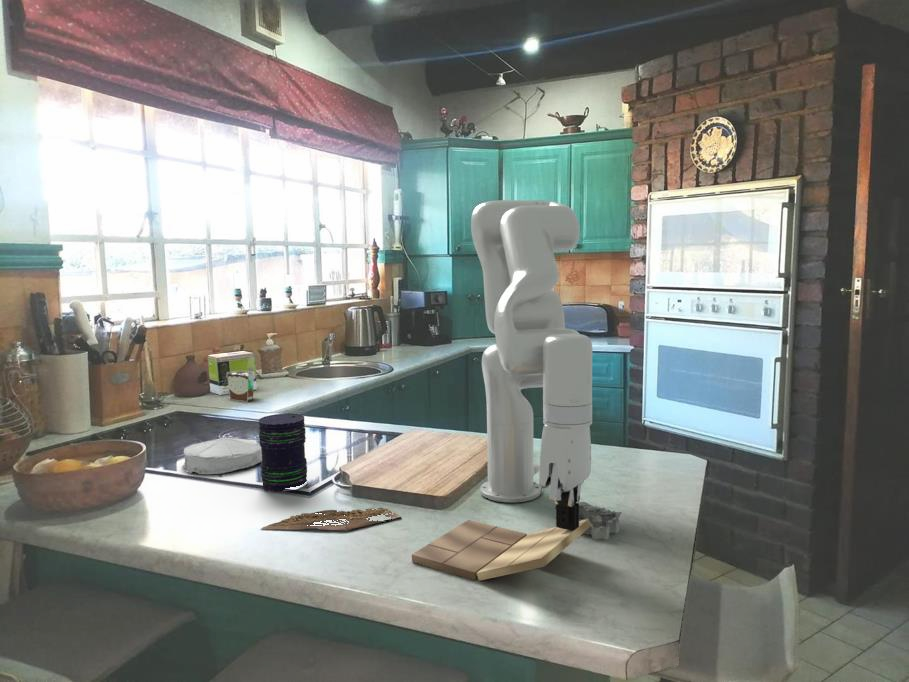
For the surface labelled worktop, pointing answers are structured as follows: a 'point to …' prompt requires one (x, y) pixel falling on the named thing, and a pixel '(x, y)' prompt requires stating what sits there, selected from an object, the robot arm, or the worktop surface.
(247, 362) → the tea box
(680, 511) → the worktop surface
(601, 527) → the egg carton
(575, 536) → the plank
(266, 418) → the storage jar
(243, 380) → the food container
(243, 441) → the food container
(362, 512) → the wooden fragment
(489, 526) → the laid board
